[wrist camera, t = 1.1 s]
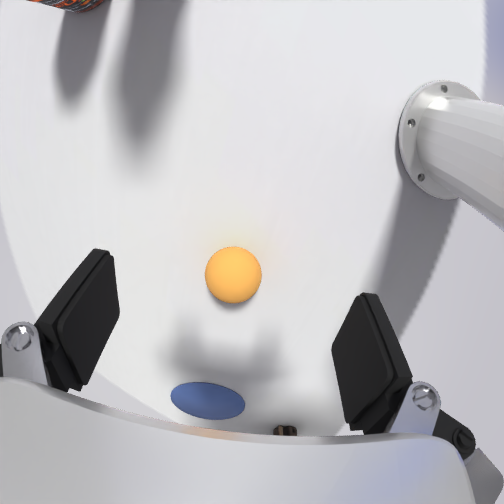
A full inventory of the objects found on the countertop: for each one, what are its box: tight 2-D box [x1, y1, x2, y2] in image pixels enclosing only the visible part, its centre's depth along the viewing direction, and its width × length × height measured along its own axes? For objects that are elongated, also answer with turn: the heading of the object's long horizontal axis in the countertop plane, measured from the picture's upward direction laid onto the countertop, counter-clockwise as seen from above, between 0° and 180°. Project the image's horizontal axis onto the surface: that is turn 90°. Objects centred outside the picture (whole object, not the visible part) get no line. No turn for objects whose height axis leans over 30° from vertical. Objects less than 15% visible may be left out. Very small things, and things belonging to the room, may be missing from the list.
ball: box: [205, 247, 262, 303], centre depth 29 cm, size 6×6×6 cm
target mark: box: [171, 383, 245, 420], centre depth 46 cm, size 13×13×1 cm
